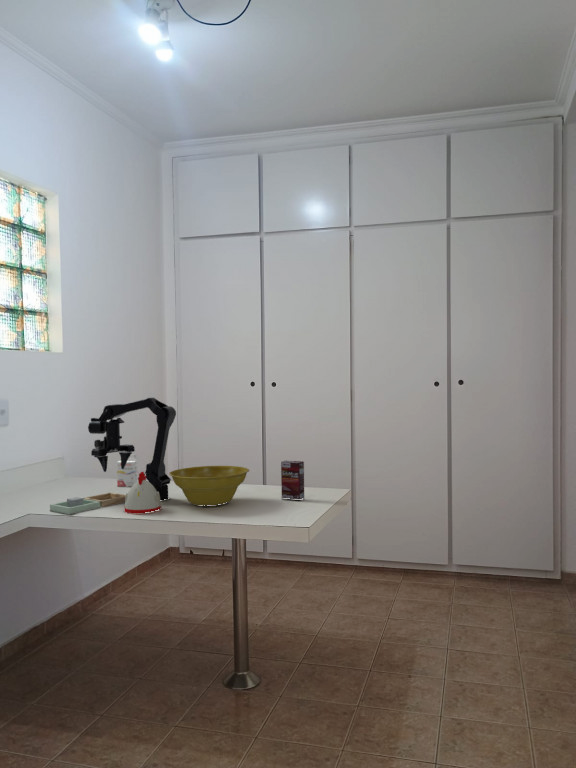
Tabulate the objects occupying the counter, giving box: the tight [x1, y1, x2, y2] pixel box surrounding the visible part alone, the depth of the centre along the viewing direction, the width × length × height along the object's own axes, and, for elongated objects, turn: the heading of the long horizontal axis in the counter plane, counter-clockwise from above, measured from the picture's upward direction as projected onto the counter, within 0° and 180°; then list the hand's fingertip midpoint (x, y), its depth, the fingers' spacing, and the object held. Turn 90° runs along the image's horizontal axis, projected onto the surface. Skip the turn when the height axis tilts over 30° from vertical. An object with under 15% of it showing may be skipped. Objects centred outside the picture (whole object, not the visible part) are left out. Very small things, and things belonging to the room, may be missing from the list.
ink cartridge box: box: [116, 453, 138, 487], centre depth 314 cm, size 9×5×15 cm, turn 84°
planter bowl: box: [168, 465, 250, 506], centre depth 268 cm, size 32×32×13 cm
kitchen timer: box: [124, 471, 162, 514], centre depth 258 cm, size 14×14×15 cm
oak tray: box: [82, 492, 126, 508], centre depth 274 cm, size 13×14×2 cm
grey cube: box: [66, 496, 84, 507], centre depth 262 cm, size 4×4×4 cm
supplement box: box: [280, 460, 305, 499], centre depth 273 cm, size 9×5×16 cm, turn 62°
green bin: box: [49, 499, 101, 516], centre depth 262 cm, size 13×14×2 cm
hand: (113, 470), depth 283 cm, fingers open, 9 cm apart
